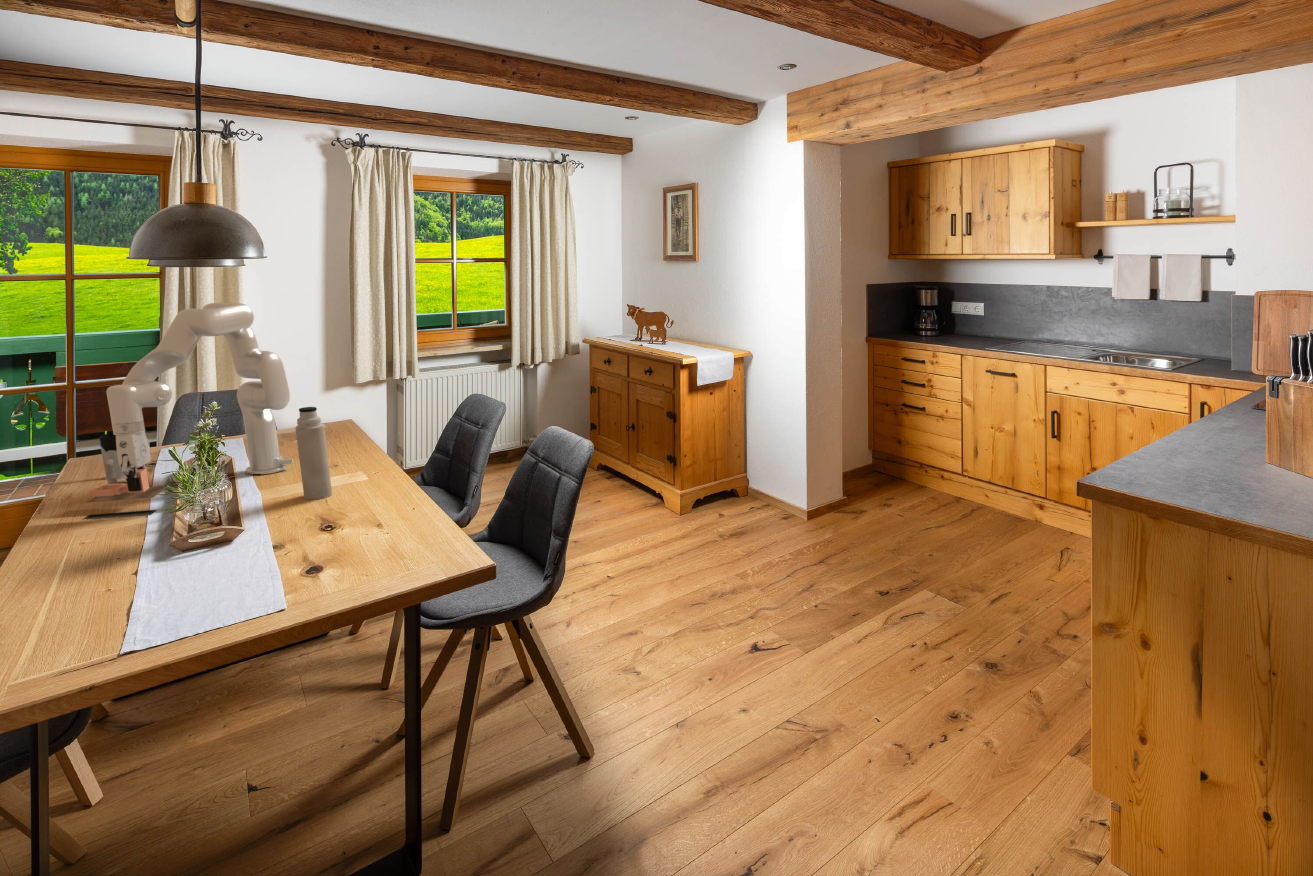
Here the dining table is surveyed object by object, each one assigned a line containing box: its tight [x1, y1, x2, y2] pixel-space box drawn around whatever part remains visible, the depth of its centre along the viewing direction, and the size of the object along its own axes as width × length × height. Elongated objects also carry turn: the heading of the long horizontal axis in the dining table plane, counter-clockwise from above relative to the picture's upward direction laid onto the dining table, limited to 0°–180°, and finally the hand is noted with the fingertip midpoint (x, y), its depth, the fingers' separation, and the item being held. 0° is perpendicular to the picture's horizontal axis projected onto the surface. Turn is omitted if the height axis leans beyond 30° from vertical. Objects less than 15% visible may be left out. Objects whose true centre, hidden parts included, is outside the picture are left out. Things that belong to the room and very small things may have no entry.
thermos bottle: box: [294, 406, 333, 500], centre depth 227 cm, size 8×8×28 cm
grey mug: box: [99, 432, 151, 481], centre depth 252 cm, size 9×14×15 cm, turn 114°
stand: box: [86, 459, 166, 503], centre depth 228 cm, size 18×13×12 cm
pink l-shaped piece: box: [88, 468, 150, 498], centre depth 215 cm, size 13×7×6 cm, turn 103°
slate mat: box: [82, 509, 157, 521], centre depth 217 cm, size 17×12×1 cm
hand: (138, 488), depth 216 cm, fingers closed on pink l-shaped piece, 4 cm apart
